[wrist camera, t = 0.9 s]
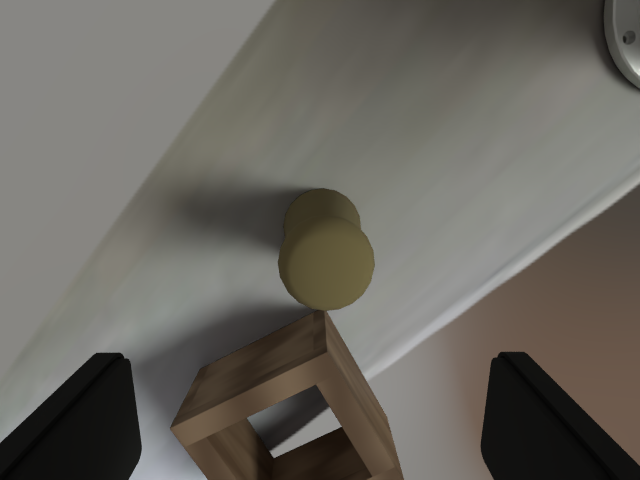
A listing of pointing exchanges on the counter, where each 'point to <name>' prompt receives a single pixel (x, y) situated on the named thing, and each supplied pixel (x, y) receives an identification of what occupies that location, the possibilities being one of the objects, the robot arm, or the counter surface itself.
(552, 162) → the counter surface
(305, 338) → the box
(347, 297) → the cork
